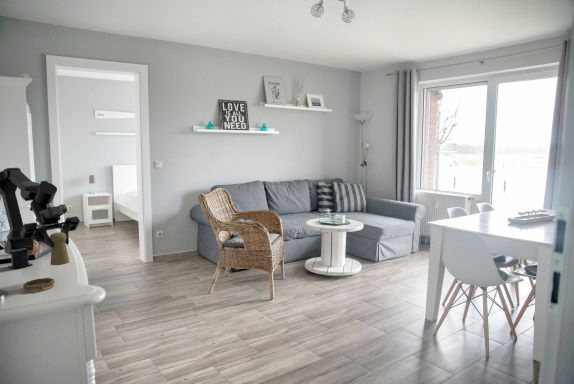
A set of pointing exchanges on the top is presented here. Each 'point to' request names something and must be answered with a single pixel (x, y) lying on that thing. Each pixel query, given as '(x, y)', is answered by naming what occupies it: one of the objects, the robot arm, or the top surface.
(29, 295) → the top surface
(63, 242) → the cork
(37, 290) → the walnut stand
